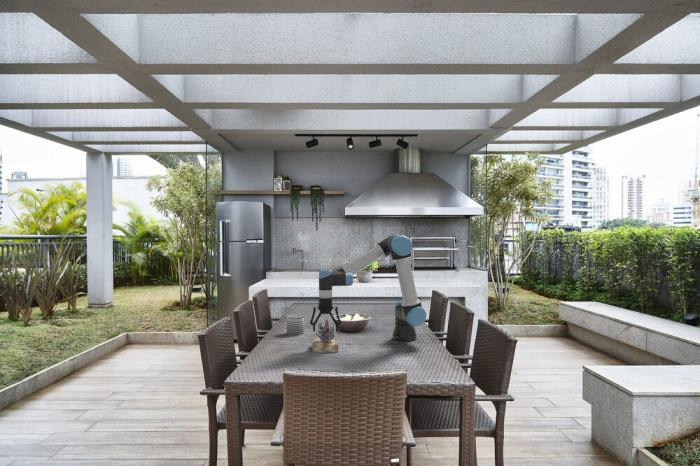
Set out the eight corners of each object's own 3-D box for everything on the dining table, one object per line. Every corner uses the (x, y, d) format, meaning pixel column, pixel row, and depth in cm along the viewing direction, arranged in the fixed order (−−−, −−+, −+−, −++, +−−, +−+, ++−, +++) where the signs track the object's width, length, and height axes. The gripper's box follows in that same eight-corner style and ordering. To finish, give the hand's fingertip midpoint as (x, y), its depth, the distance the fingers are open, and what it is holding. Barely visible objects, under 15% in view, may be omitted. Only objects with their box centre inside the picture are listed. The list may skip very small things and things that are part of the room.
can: (307, 334, 308) (307, 315, 308) (291, 336, 302) (291, 317, 302) (299, 331, 318) (299, 313, 318) (283, 333, 311) (283, 314, 311)
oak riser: (337, 345, 276) (337, 338, 276) (338, 352, 261) (338, 344, 261) (313, 346, 275) (313, 339, 275) (312, 352, 260) (312, 344, 260)
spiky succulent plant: (336, 337, 262) (323, 319, 263) (320, 348, 263) (308, 330, 265) (340, 332, 273) (327, 315, 275) (325, 344, 275) (313, 327, 276)
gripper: (345, 296, 272) (345, 335, 272) (305, 296, 271) (305, 335, 271) (345, 297, 265) (345, 338, 265) (304, 298, 264) (304, 338, 263)
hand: (325, 337), depth 268 cm, fingers closed on spiky succulent plant, 10 cm apart
